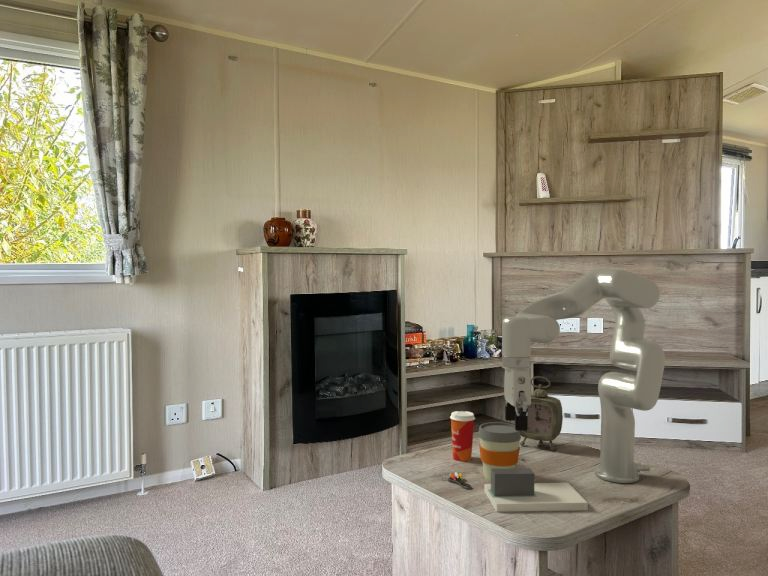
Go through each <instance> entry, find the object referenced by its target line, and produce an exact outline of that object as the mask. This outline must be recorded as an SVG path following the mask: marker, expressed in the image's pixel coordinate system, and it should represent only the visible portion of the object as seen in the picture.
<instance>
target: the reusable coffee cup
mask: <svg viewBox="0 0 768 576" xmlns="http://www.w3.org/2000/svg"><path fill="white" fill-rule="evenodd" d="M478 437H479V442H480V443H479V444H478V447H479V455H480V456H479V457H480V461H481V462H482V470H483V477H484V478H485V479H486V480H489V481H490V482H491V469H501V468H517V467H516V466H517V464H518V463H519V457H520V455H519V454H520V449H521V448H520V442H521V441H520V440H521V439H522V436H521V434H520V431H516V430H515V424H512V423H509V422H508V423H507V422H500V421H499V422H498V421H497V422H496V421H491V422H485V423H481V424H480V425H479V429H478Z"/></svg>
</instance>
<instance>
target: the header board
mask: <svg viewBox="0 0 768 576" xmlns="http://www.w3.org/2000/svg"><path fill="white" fill-rule="evenodd" d="M483 486H484V488H483V489H484V490H483V491H484V493H485V494H486V496H487V498H488V500H489V502H490V503H491V504H492V506H493V508H494V509H495V511H496V513H498V512H501V513H503V512H504V513H505V512H507V513H509V512H555V511H558V512H559V511H560V512H561V511H588V502H587V500H586V499H584V497H583V496H581V494H580V493H578V491H576V490H575V489H574V487H572V485H570V483H568V482H538V483H537V482H536V483H535V482H534V496H494V495H493V493H492V492H491V483H484V485H483Z"/></svg>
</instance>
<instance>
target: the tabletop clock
mask: <svg viewBox="0 0 768 576" xmlns="http://www.w3.org/2000/svg"><path fill="white" fill-rule="evenodd" d="M535 379H543V380H546V381H547V382H548V385H546V386H543V385H542V384H541V383H540V384H538V385H536V384H533V380H535ZM530 386H532V387H534V388H537V389H535V390H534V391H533V392H532V394H531V405H530V406H529V407H527V408H528V411H527V412H528V429H527V430H526V431H520V434H521V437H523V438H524V439H523V440H521V441H519V446H521V447H523V446H525V445H526V443H525V442H526V441H527V439H529V440H534V441H538V445H540V446H542V445H544V442H549V444H550V448H549V449H550V450H551V451H552V452H554V451H555V450H556V447H555V446H554V444H553V441H554V440H555V439H556V438H557V437H558V436H559V435H560V434H561V431H562V427H563V421H564V420H563V419H564V418H563V417H564V414H563V406H562V402H561V400H560V399H559V398H557V397H554V396H550V395H548V392H547V391H546V390H545V389H548V388H549V387H551V381H550V380H549V379H548V378H547V377H544V376H541V375H540V376H539V375H538V376H537V375H536V376H533V377H532V378H530ZM521 404H522V403H521ZM519 409H520V408H519Z"/></svg>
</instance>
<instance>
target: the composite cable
mask: <svg viewBox="0 0 768 576" xmlns="http://www.w3.org/2000/svg"><path fill="white" fill-rule="evenodd" d="M447 482H449V483H452V484H455V485H458V486H460V487H461V488H462V489H464V490H466V491H467V490H472V485H471V484H469V483H465V482H463V474H462V473H461V472H456V471H454V474H453V473H449V477H447Z"/></svg>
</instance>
